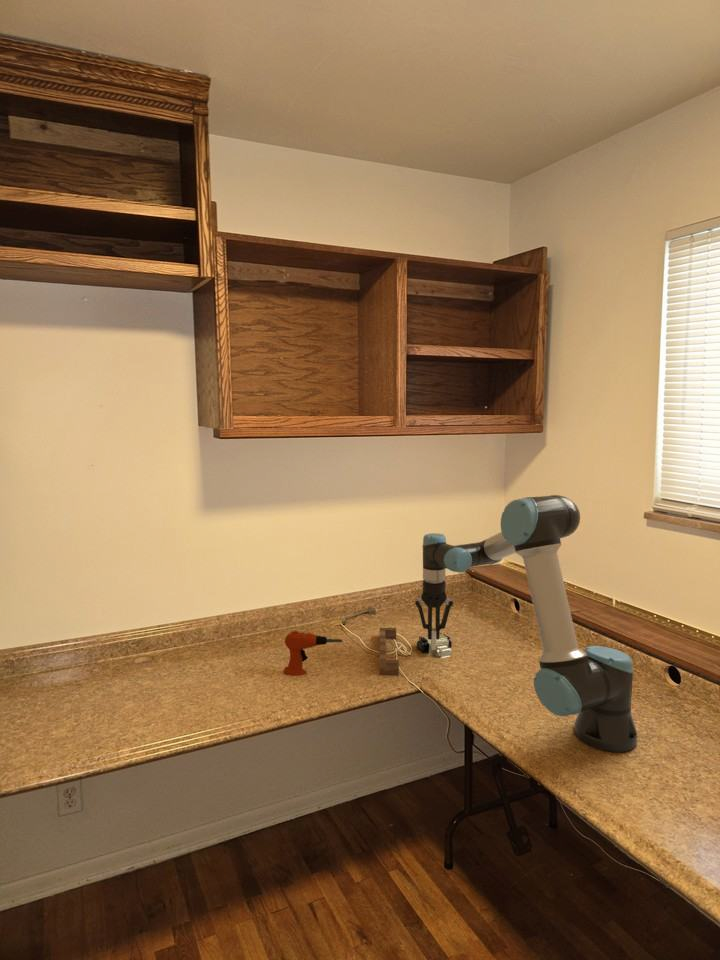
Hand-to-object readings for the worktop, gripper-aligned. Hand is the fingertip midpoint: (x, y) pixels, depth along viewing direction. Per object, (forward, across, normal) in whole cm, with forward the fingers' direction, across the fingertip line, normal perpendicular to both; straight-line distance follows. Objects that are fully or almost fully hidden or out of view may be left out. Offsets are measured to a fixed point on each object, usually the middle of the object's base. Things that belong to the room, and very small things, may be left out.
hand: (433, 648), depth 201 cm
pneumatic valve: (+2, -4, +1) cm, 5 cm away
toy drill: (+4, +39, +14) cm, 42 cm away
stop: (+4, +17, 0) cm, 18 cm away
